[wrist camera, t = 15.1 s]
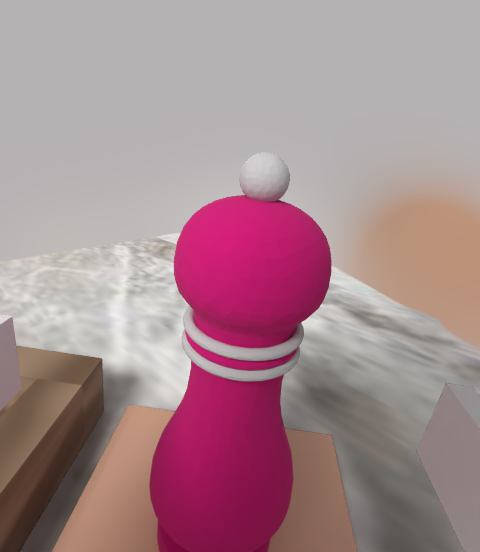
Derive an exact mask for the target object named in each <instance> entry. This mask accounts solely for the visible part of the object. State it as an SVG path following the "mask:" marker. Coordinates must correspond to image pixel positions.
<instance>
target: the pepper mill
mask: <svg viewBox="0 0 480 552" xmlns="http://www.w3.org/2000/svg"><path fill="white" fill-rule="evenodd" d="M289 181H290V173H289V171H288V167H287V165H286V164H285V163H284V161H283V160H282V159H281V158H280V157H278V156H277V155H275V154H272V153H267V152H263V153H258V154H255V155H254V156H252V157H250V158H249V159H248V160H247V161H246V162H245V163H244V165H243V167H242V169H241V173H240V186H241V188H242V190H243V193H244V194H245V195H241V196H232V197H227V198H223V199H219V200H216V201H214V202H212V203H210V204H208V205H206V206H204V207H202V208H201V209H200V210H199V211H197V212H196V213H195V214H194V215H193V216H192V217H191V218H190V220H189V221H188V222H187V223H186V225H185V226H184V227H183V230H182V232H181V234H180V237H179V239H178V241H177V246H176V251H175V257H174V276H175V280H176V283H177V287H178V290H179V292H180V294H181V295H182V297H183V298H184V299H185V300H186V302H187V303H188V304H189V305H190V306H189V307H188V308H187V310H186V312H185V314H184V317H183V324H184V328H185V329H184V331H183V335H182V345H183V348H184V350H185V352H186V354H187V356H188V357H189V358H190V359H191V371H190V376H189V381H188V387H187V390H186V392H185V395H184V398H183V400H182V401H181V403H180V405H179V406H178V408H177V410H176V411H175V413H174V414H173V416H172V417H171V419H170V420H169V422H168V423H167V425H166V427H165V428H164V430H163V432H162V434H161V437H160V439H159V442H158V444H157V447H156V450H155V453H154V455H153V459H152V466H151V473H150V483H149V487H150V497H151V502H152V505H153V509H154V512H155V515H156V517H157V519H158V528H157V540H158V547H159V551H160V552H267V551H268V548H269V544H270V540H271V537H272V536H273V535H274V534H275V533H276V532H277V531H278V529H279V528H280V526H281V524H282V523H283V521H284V519H285V517H286V514H287V511H288V509H289V505H290V500H291V493H292V486H293V479H294V478H293V463H292V454H291V449H290V445H289V442H288V438H287V435H286V432H285V428H284V425H283V421H282V417H281V406H280V395H281V384H282V379H283V376H284V374H285V373H287V372H288V371H290V370H291V369H292V368H293V367H294V366H295V364H296V363H297V361H298V359H299V355H300V347H299V345H300V344H301V342H302V340H303V337H304V329H303V326H302V324H301V322H302V321H304V320H306V319H307V318H308V317H309V316H310V315H311V314H313V313H314V312H315V311H316V310H317V309H318V308H319V307H320V305H321V304H322V302H323V300H324V298H325V295H326V293H327V290H328V288H329V282H330V276H331V254H330V248H329V245H328V242H327V238H326V236H325V235H324V233H323V231H322V230H321V228H320V227H319V226H318V224H317V223H316V222H315V221H314V220H313V219H312V218H311V217H310V216H309V215H307V214H306V213H305V212H303V211H302V210H301V209H299V208H297V207H295V206H293V205H291V204H288V203H285V202H283V201H280V200H279V199H280V198H281V197H282V196H283V195H284V194H285V192H286V190H287V189H288V185H289Z"/></svg>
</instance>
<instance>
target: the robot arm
mask: <svg viewBox="0 0 480 552" xmlns="http://www.w3.org/2000/svg"><path fill="white" fill-rule="evenodd" d="M21 389H22V384H21V377H20V369H19V362H18V355H17V348H16V340H15V333H14V326H13V319H12V316H6V315H0V410H1V409H2V408H3V407H4V406H5V405H6V404H7V403H8V402H9V401H10V400H11V399H12V398H13V397H14V396H15V395H16V394H17V393H18V392H19V391H20V390H21ZM417 453H418V456H419V458H420V460H421V462H422V464H423V466H424V468H425V470H426V472H427V475H428V477H429V479H430V481H431V483H432V485H433V487H434V489H435V491H436V494H437V496H438V498H439V500H440V502H441V504H442V506H443V508H444V510H445V512H446V515H447V517H448V519H449V521H450V523H451V525H452V527H453V529H454V531H455V534H456V536H457V538H458V540H459V542H460V544H461V546H462V548H463V550H464V552H480V395H479V394H478V393H477V392H476V391H475V389H474V388H473V387H469V386H463V385H456V384H450V383H446V385H445V387H444V389H443V392H442V394H441V396H440V399H439V401H438V403H437V406H436V408H435V410H434V412H433V415H432V417H431V419H430V422H429V424H428V426H427V429H426V431H425V433H424V436H423V438H422V440H421V443H420V445H419V447H418V449H417Z"/></svg>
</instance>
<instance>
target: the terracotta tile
mask: <svg viewBox="0 0 480 552" xmlns="http://www.w3.org/2000/svg"><path fill="white" fill-rule="evenodd" d="M174 413H175V412H174V411H168V410H161V409H155V408H148V407H141V406H135V405H128V406H127V408H126V410H125V412H124V414H123V416H122V418H121V420H120V422H119V424H118V426H117V427H116V429H115V431H114V433H113V435H112V437H111V439H110V441H109V443H108V445H107V447H106V449H105V450H104V452H103V454H102V456H101V458H100V460H99V462H98V464H97V466H96V468H95V470H94V472H93V474H92V475H91V477H90V479H89V481H88V483H87V485H86V487H85V489H84V491H83V493H82V495H81V497H80V498H79V500H78V502H77V504H76V506H75V508H74V510H73V512H72V514H71V516H70V518H69V520H68V521H67V523H66V525H65V527H64V529H63V531H62V533H61V535H60V537H59V539H58V541H57V543H56V544H55V546H54V548H53V550H52V552H160V551H159V547H158V540H157V528H158V519H157V517H156V515H155V512H154V509H153V505H152V502H151V497H150V487H149V483H150V473H151V466H152V459H153V455H154V453H155V450H156V447H157V444H158V442H159V439H160V437H161V434H162V432H163V430H164V428H165V427H166V425H167V423H168V422H169V420H170V419H171V417H172V416H173V414H174ZM285 432H286V435H287V438H288V442H289V445H290V449H291V454H292V463H293V478H294V479H293V486H292V493H291V500H290V505H289V509H288V511H287V514H286V517H285V519H284V521H283V523H282V524H281V526H280V528H279V529H278V531H277V532H276V533H275V534H274V535H273V536H272V537H271V540H270V544H269V548H268V551H267V552H357V548H356V543H355V539H354V534H353V530H352V525H351V521H350V516H349V512H348V507H347V503H346V498H345V494H344V489H343V485H342V480H341V476H340V471H339V467H338V462H337V458H336V453H335V449H334V444H333V440H332V435H327V434H321V433H314V432H307V431H301V430H294V429H287V428H285Z"/></svg>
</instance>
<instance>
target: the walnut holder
mask: <svg viewBox="0 0 480 552" xmlns="http://www.w3.org/2000/svg"><path fill="white" fill-rule="evenodd" d="M16 348H17V355H18V362H19V369H20V377H21V384H22V389H21V390H20V391H19V392H18V393H17V394H16V395H15V396H14V397H13V398H12V399H11V400H10V401H9V402H8V403H7V404H6V405H5V406H4V407H3V408H2V409H1V410H0V552H19V551H20V549H21V547H22V546H23V544H24V542H25V541H26V539H27V537H28V536H29V534H30V532H31V531H32V529H33V527H34V526H35V524H36V522H37V521H38V519H39V517H40V516H41V514H42V512H43V511H44V509H45V507H46V506H47V504H48V502H49V501H50V499H51V498H52V496H53V494H54V493H55V491H56V489H57V488H58V486H59V484H60V483H61V481H62V479H63V478H64V476H65V474H66V473H67V471H68V469H69V468H70V466H71V464H72V463H73V461H74V459H75V458H76V456H77V454H78V453H79V451H80V449H81V448H82V446H83V444H84V443H85V441H86V439H87V438H88V436H89V434H90V433H91V431H92V429H93V428H94V426H95V424H96V423H97V421H98V419H99V418H100V416H101V414H102V413H103V411H104V404H103V372H102V358H95V357H89V356H82V355H75V354H68V353H62V352H55V351H48V350H41V349H35V348H28V347H21V346H16Z"/></svg>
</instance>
